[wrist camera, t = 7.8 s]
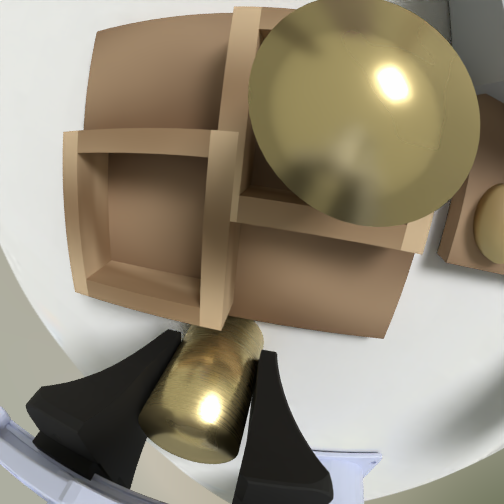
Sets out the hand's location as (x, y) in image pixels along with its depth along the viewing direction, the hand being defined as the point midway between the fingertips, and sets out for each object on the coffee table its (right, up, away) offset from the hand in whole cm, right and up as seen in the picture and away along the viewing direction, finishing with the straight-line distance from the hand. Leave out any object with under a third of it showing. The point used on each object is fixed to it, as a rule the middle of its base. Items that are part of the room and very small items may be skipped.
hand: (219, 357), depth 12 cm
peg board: (+1, +8, -2) cm, 8 cm away
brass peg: (0, +1, +1) cm, 1 cm away
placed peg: (+4, +9, -4) cm, 10 cm away
